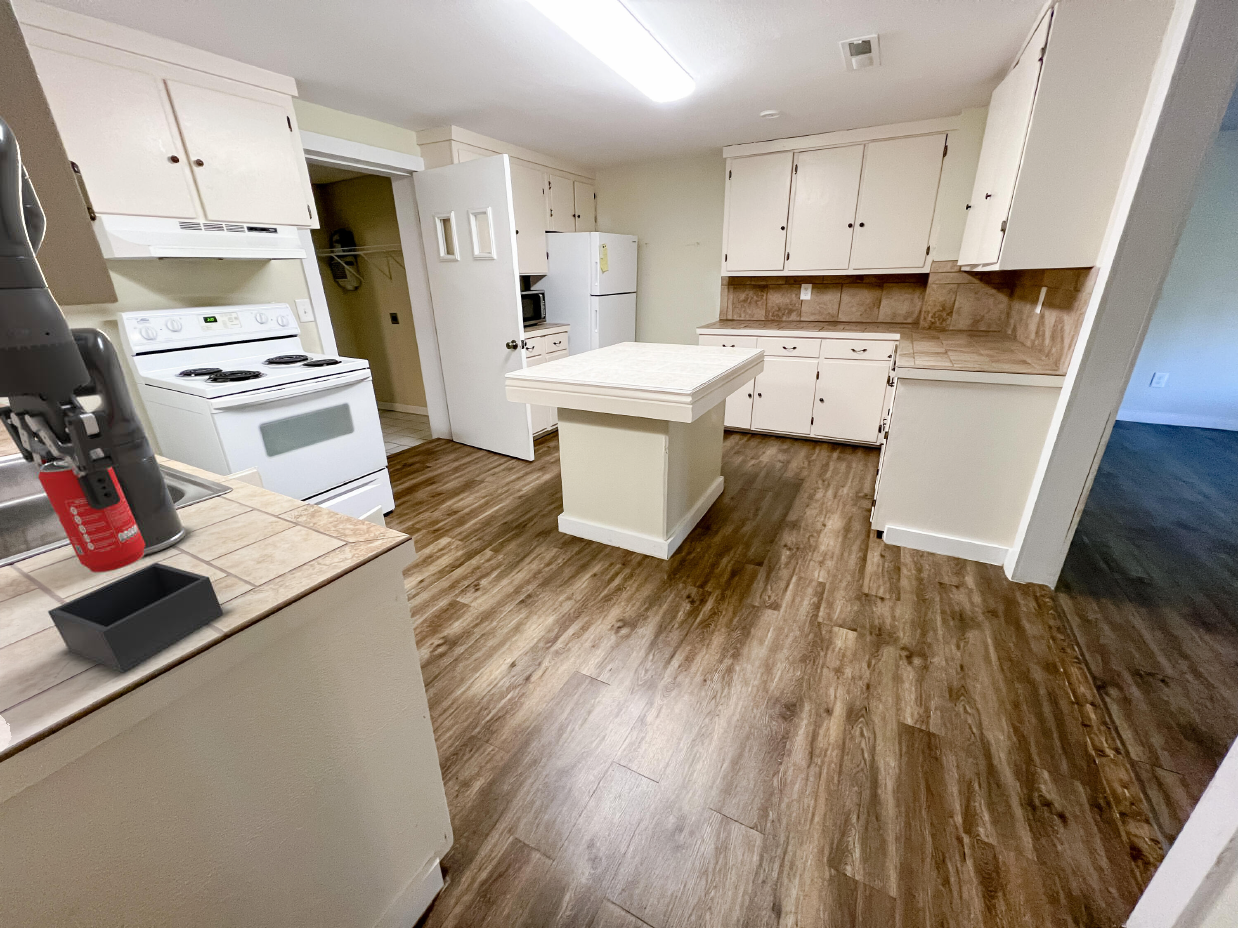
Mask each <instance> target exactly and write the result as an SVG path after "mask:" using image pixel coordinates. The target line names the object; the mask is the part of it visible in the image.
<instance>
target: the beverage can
mask: <svg viewBox="0 0 1238 928" xmlns="http://www.w3.org/2000/svg"><path fill="white" fill-rule="evenodd" d="M76 457H77V456H76ZM90 457H91V459H94V458H93V457H92V455H90ZM37 470H38V472H39V473H38V477H37V478H38V480H39V482H40V484H41V486H42V488H43V490H44V492H45V495H46V496H47V498H48V500H49V502H50V504H51V507H52V508H53V510H54V513H55V514H56V516H57V519H58V521H59V523H60V524H61V527H62V528H63V530H64V531H63V532H64V533H65V534H66V537H67V539H68V541H69V542H70V545H71V547H72V549H73V551H74V553H75V555H76V557H77V560H78V561H79V563H80V564H81V566H84V567H85V568H86V569H89V571H90V572H92V573H96V574H97V573H98V574H100V573H108V572H112V571H117V570H121V569H122V568H123V569H124V568H125V567H129V566H131V565H133V564H135V563H137V562H139V561H140V560H141V559H143V557H144V556H145V555H144V547H145V543H144V540H143V538H142V536H141V533H140V531H139V529H138V526H137V524H136V522H135V519H134V517H133V515H132V512H131V510H130V508H129V505H128V503H127V501H126V499H125V496H124V494H123V492H122V489H121V487H120V485H119V482H118V480H117V478H116V475H115V473H114V471H113V468H112V467H111V469H108V472H109V474H110V476H111V479H112V481H113V483H114V486H115V488H116V490H117V492H118V495H119V497H120V502H119V503H118V504H115V505H112V506H109V507H106V508H103V509H100V510H97V509H93V508H91V507H90V506H89V504H88V502H87V500H86V497H85V495H84V493H83V491H82V489H81V487H80V485H79V482H78V480H77V478H76V477H77V476H76V475H74V473H73V471H72V470H71V468H70V467H69V465H68V464H67V462H66V461H65V460H64V459H61V460H57V461H53V462H50V463H47V464H45V465H42V466H41V467H39V468H38V467H37Z"/></svg>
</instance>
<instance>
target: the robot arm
mask: <svg viewBox="0 0 1238 928" xmlns="http://www.w3.org/2000/svg"><path fill="white" fill-rule="evenodd" d="M46 227H47V220H46V215H45V213H44V210H43V208H42V205H41V202H40V200H39V198H38V196H37V194H36V191H35V189H34V186H33V183H32V180H31V179H30V177H29V174H28V172H27V169H26V167H25V165H24V164H23V162H22V159H21V152H20V146H19V143H18V139H17V138H16V136H15V133H14V131H13V130H12V128H11V127H10V125H9V124H8V123H7V121H6V120H5V119H4V117H2V116H1V115H0V398H7V400H8V405H6V406H0V421H1V423H2V424H3V426H4V427H5V429H6V431H7V433H8V435H9V436H10V437H11V439H12V441H13V443H14V444H15V445H16V447H17V449H18V451H19V452H20V454H21V456H22V459H23V460H24V461H25V462H27V463H29V464H30V463H31V464H32V463H34V465H35V467H36V468H37V469H38V468H39V467H41V466H42V465H45V464H47V463H50V462H53V461H57V460H61V459H64V460H65V461H66V462H67V464H68V465H69V467H70V468H71V470H72V471H73V473H74V475H76V476H77V477H76V478H77V480H78V482H79V485H80V487H81V489H82V491H83V493H84V495H85V497H86V500H87V502H88V504H89V506H90V507H91V508H93V509H97V510H100V509H103V508H106V507H109V506H112V505H115V504H118V503H119V502H120V497H119V495H118V492H117V490H116V488H115V486H114V483H113V481H112V479H111V476H110V474H109V472H108V469H111V467H112V468H113V471H114V473H115V475H116V478H117V480H118V482H119V485H120V487H121V489H122V492H123V494H124V496H125V499H126V501H127V503H128V505H129V508H130V510H131V512H132V515H133V517H134V519H135V522H136V524H137V526H138V529H139V531H140V533H141V536H142V538H143V540H144V543H145V547H144V556H146V555H151V554H154V553H156V552H159V551H162V550H165V549H167V548H169V547H172V546H173V545H175V544H177V543H179V542H180V541H181V540H183V539H184V538H185V536H186V534H187V533H186V529H185V527H184V526H183V524H182V521H181V519H180V516H179V514H178V511H177V509H176V505H175V503H174V501H173V498H172V495H171V493H170V491H169V488H168V485H167V483H166V480H165V478H164V476H163V475H164V474H163V472H162V470H161V467H160V465H159V463H158V460H157V457H156V455H155V452H154V450H153V447H152V445H151V443H150V440H149V437H148V435H147V432H146V430H145V428H144V425H143V423H142V421H141V418H140V415H139V413H138V411H137V407H136V405H135V403H134V400H133V397H132V394H131V392H130V389H129V386H128V383H127V382H128V381H127V379H126V376H125V372H124V369H123V365H122V362H121V360H120V357H119V355H118V352H117V350H116V348H115V345H114V343H113V342H112V339H110V337H109V336H108V335H107V334H106V332H104V331H103V330H101V329H99V328H96V327H75V328H73V327H71V328H70V326H69V324H68V321H67V319H66V316H65V314H64V313H63V310H62V309H61V307H60V305H59V304H58V302H57V300H56V299H55V297H54V296H53V294H52V292H51V290H50V288H48V287H49V286H48V284H47V282H46V279H45V276H44V274H43V272H42V269H41V267H40V264H39V262H38V260H37V258H36V256H37V254H38V252H39V250H40V248H41V245H42V243H43V240H44V237H45V233H46ZM94 396H98V397H99V398H100V403H99V404H98V406H97V407H95V408H94V409H93V410H92V411H89V412H87V411H88V410H86V408H85V406H83V405H82V403H80V401H79V400H78V399H79V398H86V397H94ZM90 455H92V457H93V458H94V459H91V457H90ZM76 456H77V457H76Z"/></svg>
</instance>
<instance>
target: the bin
mask: <svg viewBox="0 0 1238 928" xmlns="http://www.w3.org/2000/svg"><path fill="white" fill-rule="evenodd" d="M47 613H48V615H49V617H50V619H51V620H52V622H53V625H54V626H55V628H56V629H57V631H58V633H59V635H60V637H61V638H62V639H61V640H63V642H64V644H65V646H66V648H67V650H68V651H69V652H71V653H74V654H76V655H79V656H81V657H83V658H86V659H88V660H91V661H94V662H96V663H97V664H101V665H103V666H106V667H108V668H111V669H113V670H115V671H119V672H120V673H122V674H123V673H126V672H127V671H129V670H130V669H132V668H134V667H136V666H137V665H139V664H141V663H142V662H144V661H147V660H148V659H150V658H151V657H153V656H155V655H156V654H159V652H161V651H163V650H165V649H167V648H168V647H170V646H172V645H174V644H175V643H177V642H178V641H180V640H181V639H183V638H185V637H186V636H189V635H190V634H192V633H194V632H196V631H197V630H199V629H200V628H202V627H204V626H205V625H207V624H209V623H211V622H213V621H214V620H216V619H217V618H219V617H221V616H223V615H224V612H223V610H222V607H221V604H220V601H219V599H218V596H217V593H216V591H215V589H214V587H213V584H212V582H211V578H210V577H209V576H206V575H202V574H199V573H195V572H193V571H192V572H191V571H188V570H185V569H180V568H177V567H173V566H170V565H167V564H162V563H158V562H155V563H152V564H150V565H147V566H145V567H143V568H141V569H139V570H137V571H134V572H131V573H130V574H128V575H125V576H123V577H121V578H119V579H117V580H114V581H112V582H110V583H108V584H106V585H103V586H100V587H98V588H96V589H94V590H91V591H89V592H87V593H86V594H84V595H81V596H78V597H76V598H74V599H72V600H70V601H68V602H65V603H63V604H61V605H59V606H57V607H55V608H52V609H50V610H48V611H47Z"/></svg>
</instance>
